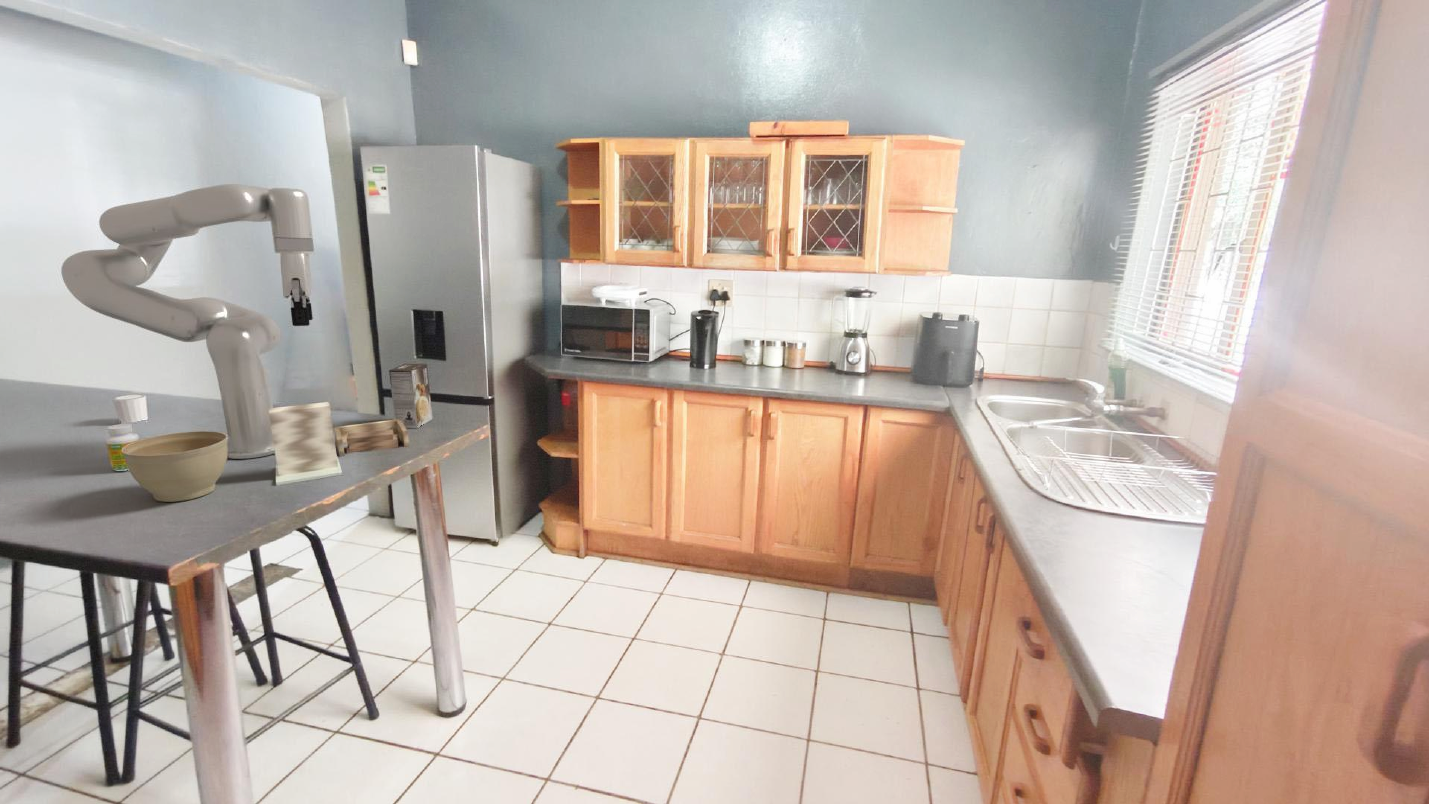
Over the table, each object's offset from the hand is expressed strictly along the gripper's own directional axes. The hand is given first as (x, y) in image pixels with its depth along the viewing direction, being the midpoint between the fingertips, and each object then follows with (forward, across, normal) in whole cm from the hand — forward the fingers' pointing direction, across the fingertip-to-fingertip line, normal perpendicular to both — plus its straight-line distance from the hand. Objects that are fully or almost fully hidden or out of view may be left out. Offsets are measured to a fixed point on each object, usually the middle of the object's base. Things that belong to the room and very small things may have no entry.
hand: (303, 322), depth 150 cm
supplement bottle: (+32, -2, -36) cm, 48 cm away
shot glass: (+32, -46, -46) cm, 73 cm away
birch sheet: (+30, +16, -1) cm, 34 cm away
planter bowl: (+31, +20, -22) cm, 43 cm away
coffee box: (+31, -14, +22) cm, 40 cm away
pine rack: (+30, +1, +12) cm, 33 cm away
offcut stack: (+31, +4, +12) cm, 33 cm away
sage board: (+31, +16, -1) cm, 35 cm away
